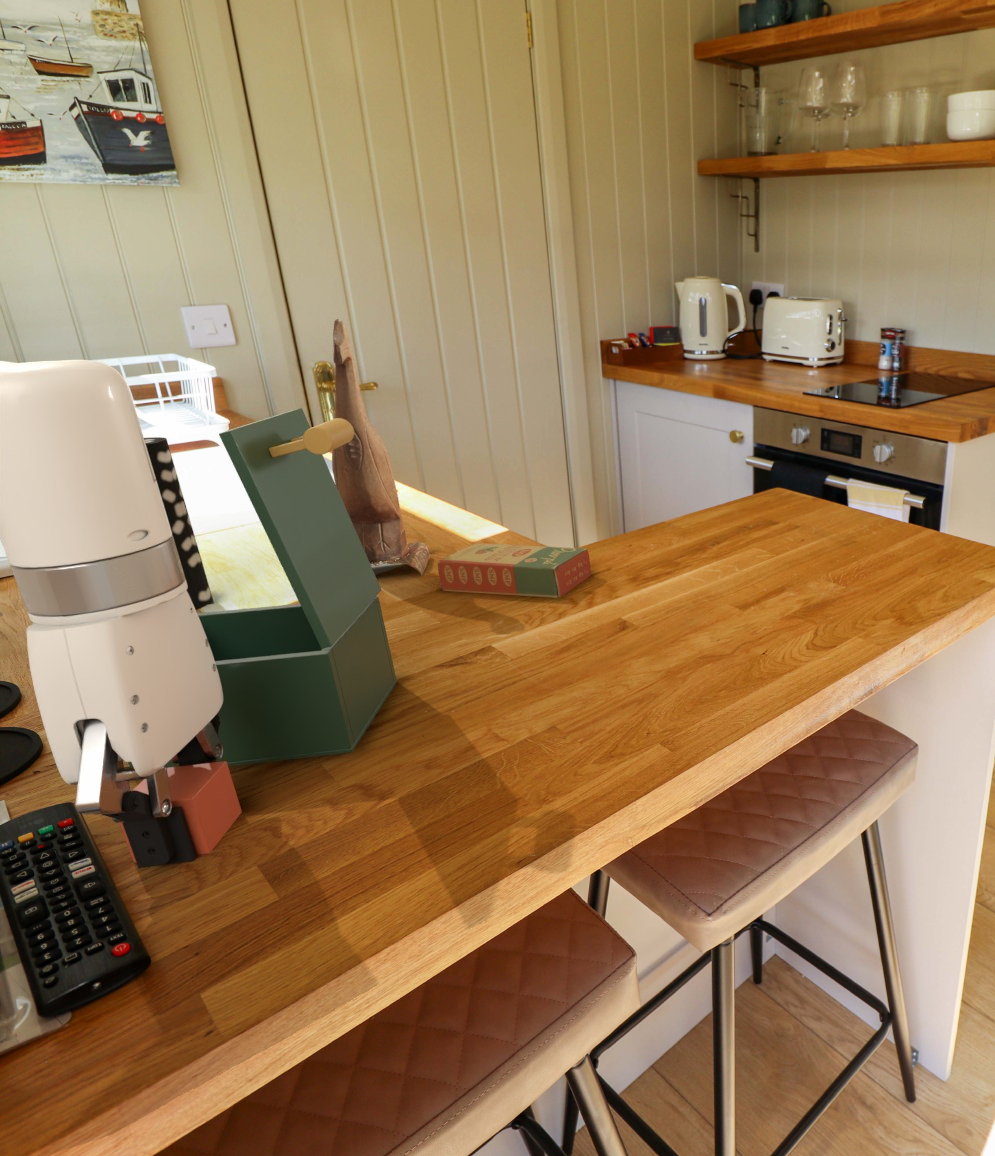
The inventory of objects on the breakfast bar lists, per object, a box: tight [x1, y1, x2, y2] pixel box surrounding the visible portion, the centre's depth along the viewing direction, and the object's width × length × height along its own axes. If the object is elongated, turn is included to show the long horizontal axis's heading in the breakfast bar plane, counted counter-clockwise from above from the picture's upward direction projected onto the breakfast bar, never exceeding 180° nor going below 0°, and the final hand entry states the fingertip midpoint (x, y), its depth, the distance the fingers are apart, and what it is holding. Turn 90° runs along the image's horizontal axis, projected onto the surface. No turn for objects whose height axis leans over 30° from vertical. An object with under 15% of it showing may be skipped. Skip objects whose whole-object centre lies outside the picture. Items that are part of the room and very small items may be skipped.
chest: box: [127, 596, 398, 768], centre depth 67 cm, size 16×13×9 cm
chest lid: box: [218, 407, 382, 649], centre depth 64 cm, size 16×13×5 cm
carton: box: [437, 542, 592, 599], centre depth 100 cm, size 8×16×4 cm, turn 74°
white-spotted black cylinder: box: [144, 436, 214, 611], centre depth 95 cm, size 8×8×20 cm
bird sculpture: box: [331, 318, 431, 576], centre depth 103 cm, size 11×12×32 cm
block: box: [119, 761, 243, 863], centre depth 53 cm, size 4×4×4 cm
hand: (190, 837), depth 54 cm, fingers closed on block, 4 cm apart
